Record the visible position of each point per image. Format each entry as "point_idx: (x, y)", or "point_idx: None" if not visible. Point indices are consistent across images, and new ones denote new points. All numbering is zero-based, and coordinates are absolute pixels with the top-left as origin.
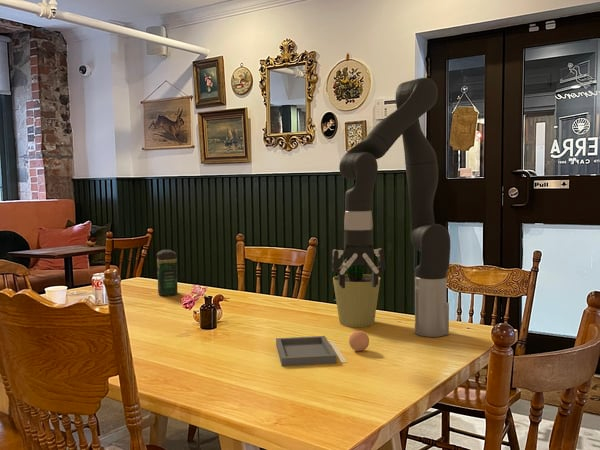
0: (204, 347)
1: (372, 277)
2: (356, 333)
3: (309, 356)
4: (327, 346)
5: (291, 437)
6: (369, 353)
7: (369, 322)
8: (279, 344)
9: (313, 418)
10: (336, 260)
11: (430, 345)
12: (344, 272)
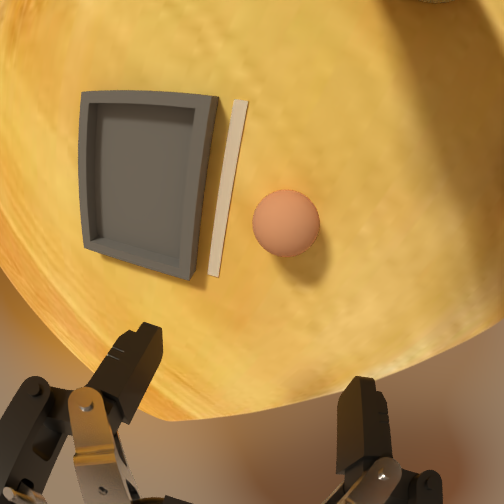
0: (3, 92)
1: (350, 437)
2: (269, 243)
3: (131, 261)
4: (185, 208)
5: None
6: None
7: (441, 1)
8: (81, 149)
9: None
10: (36, 476)
11: (472, 254)
12: (119, 438)
